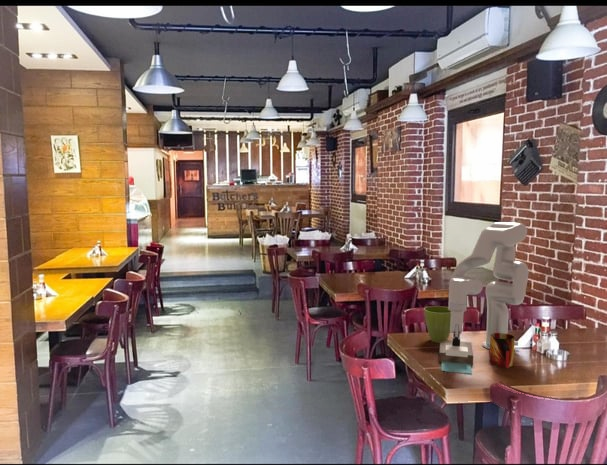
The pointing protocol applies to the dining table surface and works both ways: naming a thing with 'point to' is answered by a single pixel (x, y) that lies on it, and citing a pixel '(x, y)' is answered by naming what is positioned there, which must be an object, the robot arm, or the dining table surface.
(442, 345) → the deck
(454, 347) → the cream rectangular block
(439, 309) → the flower pot
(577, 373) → the dining table surface
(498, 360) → the mug
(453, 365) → the mat
